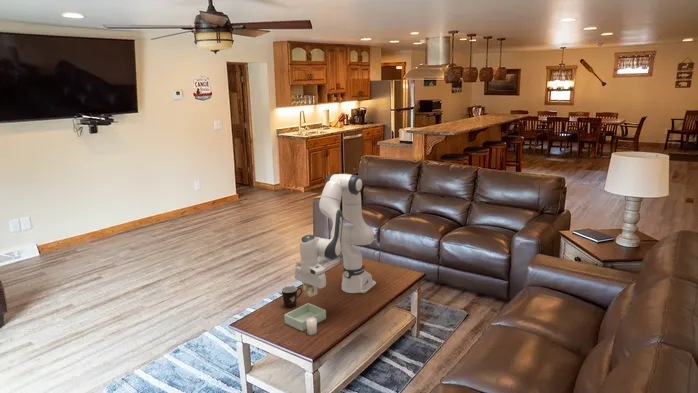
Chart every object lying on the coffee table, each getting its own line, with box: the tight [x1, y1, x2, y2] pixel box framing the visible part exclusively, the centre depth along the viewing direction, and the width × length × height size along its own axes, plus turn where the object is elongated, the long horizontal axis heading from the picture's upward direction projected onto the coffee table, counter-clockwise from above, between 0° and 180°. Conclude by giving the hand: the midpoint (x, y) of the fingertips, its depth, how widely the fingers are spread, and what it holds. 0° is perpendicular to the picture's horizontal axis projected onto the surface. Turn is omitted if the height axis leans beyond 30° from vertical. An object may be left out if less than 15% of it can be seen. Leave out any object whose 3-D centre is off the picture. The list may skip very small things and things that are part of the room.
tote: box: [283, 302, 327, 332], centre depth 249 cm, size 17×13×5 cm
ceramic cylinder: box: [306, 317, 318, 336], centre depth 238 cm, size 5×5×7 cm
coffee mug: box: [281, 285, 303, 309], centre depth 267 cm, size 12×9×10 cm
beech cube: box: [302, 283, 318, 298], centre depth 249 cm, size 5×5×5 cm
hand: (310, 291), depth 250 cm, fingers closed on beech cube, 5 cm apart
